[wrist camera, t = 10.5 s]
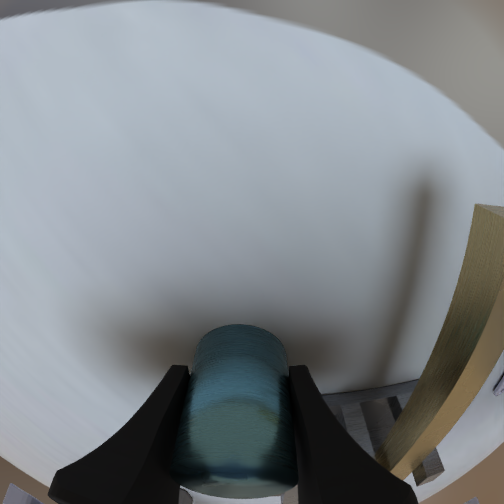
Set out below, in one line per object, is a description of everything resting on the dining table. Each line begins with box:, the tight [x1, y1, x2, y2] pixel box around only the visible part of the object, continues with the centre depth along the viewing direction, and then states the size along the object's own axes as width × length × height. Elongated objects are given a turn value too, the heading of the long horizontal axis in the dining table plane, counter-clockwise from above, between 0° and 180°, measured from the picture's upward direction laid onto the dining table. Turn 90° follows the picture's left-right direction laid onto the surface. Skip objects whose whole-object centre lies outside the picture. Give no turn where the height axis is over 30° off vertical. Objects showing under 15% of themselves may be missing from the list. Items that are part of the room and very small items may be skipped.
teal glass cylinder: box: [169, 325, 299, 499], centre depth 9 cm, size 4×4×6 cm
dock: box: [274, 380, 445, 504], centre depth 13 cm, size 12×16×6 cm
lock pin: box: [375, 204, 504, 480], centre depth 8 cm, size 3×16×2 cm, turn 2°
